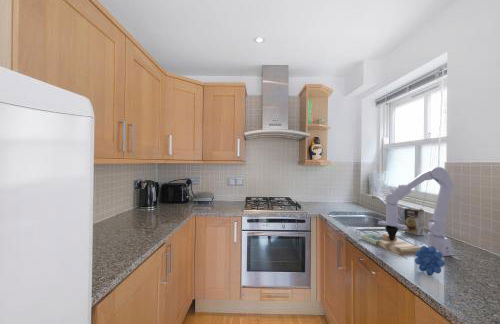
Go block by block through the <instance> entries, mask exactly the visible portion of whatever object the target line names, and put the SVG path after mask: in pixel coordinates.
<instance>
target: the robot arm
mask: <svg viewBox="0 0 500 324" xmlns="http://www.w3.org/2000/svg"><path fill="white" fill-rule="evenodd" d="M430 180H434V181H436V183H437V184H438V186H439V190H438V196H437V198H436V201H435V206H434V211H433V214H432V216H431V218H430V220H429V221H428V222H427V224H426V226H427V229H428V230H429V231H427V248H428V247H429V246H433V247H435V249H436V251H439V252H441V253H442V255H443V256H442V257H447V256H448V257H449V256H453V255H454V254H453V253H452V251H453V248H452V240H451V239H450V238H448V237H446V232H447V229H446V215H447V213H448V208H449V204H450V200H451V198H452V197H451V196H452V192H453V189H454V183H453V180H452V178H451V176H450V173H449V171H447V169H445V168H444V167H441V166H432V167H430V168H429V169H427V170H425V171H424V172H422V173H421V174H419V175H418V176H416V177H415V178H414V179H413V180H411V181H410V182H408V183H407V184H403V183H402V184H399V185H398V186H397V188H395V189H394V190H391V191H390V193H388V194H386V195H385V201H386V205H385V221H382V220H378V221H377V225H378V226H385V227H384V229H385V230H386V233H387V234H388V235H389V238H390V240H392V241H393V240H394V239H395V236H397V233H398V231H399V229H401V230H404V231H405V230H406V229H407V226H406V225H405V224H401V223H399V215H398V214H399V207H398V203H399V201H401V200H402V199H404V198H405V197H406V196H408V195H410V194H411V193H412V189H414V188H416V187H417V186H419V185H420V184H422V183H423V182H425V181H430Z"/></svg>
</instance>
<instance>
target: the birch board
mask: <svg viewBox="0 0 500 324" xmlns="http://www.w3.org/2000/svg"><path fill="white" fill-rule="evenodd" d="M377 246H378V247H380V246H381V247H380V248H383V249H386V250H387V251H390V252H392V253H395V254H398V255H400V256H406V255H416V254H415V253H416V251H417V250H420V248H421V247H422V246H417V245H416V244H415V245H414V244H413V243H412V244H411V243H408V242H406V241H402V240H401V239H397V241H389V240H386V239H385V240H378V245H377Z"/></svg>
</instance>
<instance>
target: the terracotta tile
mask: <svg viewBox="0 0 500 324" xmlns="http://www.w3.org/2000/svg"><path fill="white" fill-rule="evenodd" d="M382 235H383V238H384V239H386V240H389V241H392V240H390V238H389V235H388V233H382ZM397 238H398V237H397V235H395V239H394V240H393V241H397Z"/></svg>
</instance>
